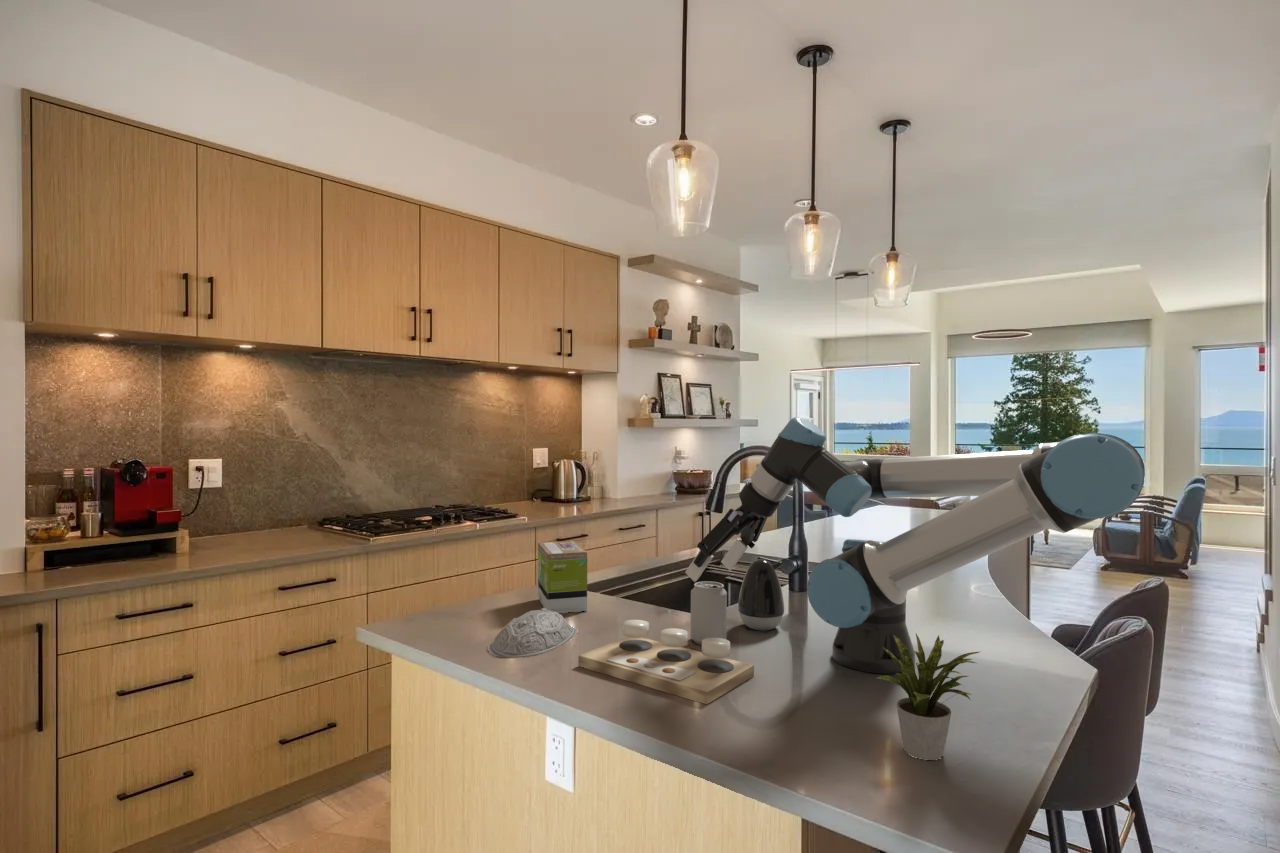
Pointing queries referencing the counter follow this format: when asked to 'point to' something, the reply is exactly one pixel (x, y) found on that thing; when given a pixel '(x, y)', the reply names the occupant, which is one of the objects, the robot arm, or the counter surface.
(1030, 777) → the counter surface
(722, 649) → the button
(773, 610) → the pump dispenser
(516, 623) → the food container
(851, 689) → the counter surface
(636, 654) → the button board
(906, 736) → the house plant
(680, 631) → the button
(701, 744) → the counter surface
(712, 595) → the can
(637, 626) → the button
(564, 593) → the tea box
